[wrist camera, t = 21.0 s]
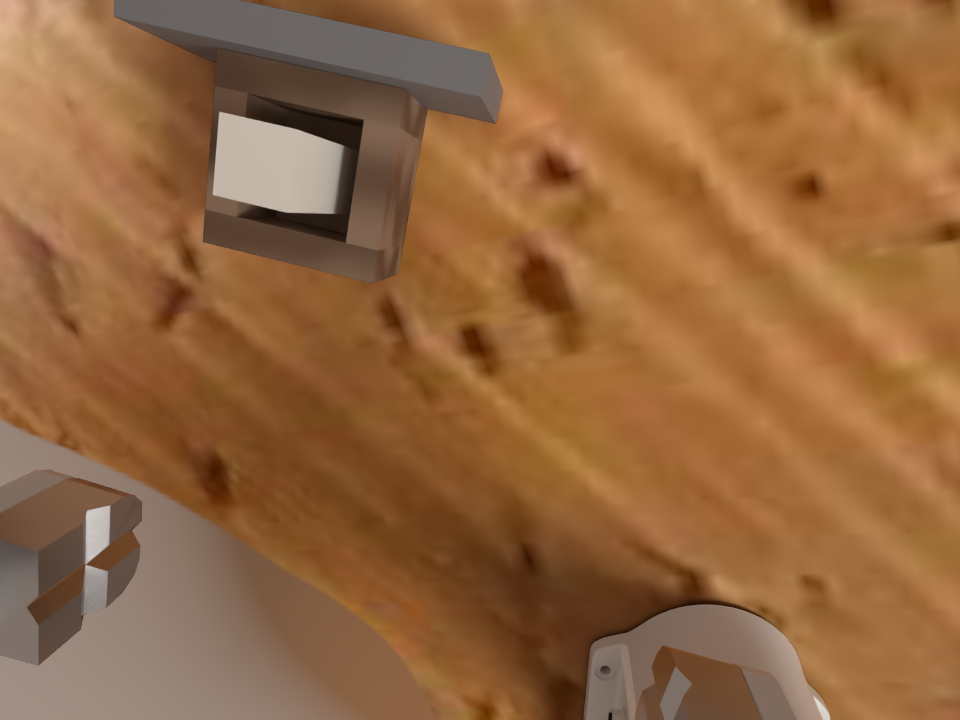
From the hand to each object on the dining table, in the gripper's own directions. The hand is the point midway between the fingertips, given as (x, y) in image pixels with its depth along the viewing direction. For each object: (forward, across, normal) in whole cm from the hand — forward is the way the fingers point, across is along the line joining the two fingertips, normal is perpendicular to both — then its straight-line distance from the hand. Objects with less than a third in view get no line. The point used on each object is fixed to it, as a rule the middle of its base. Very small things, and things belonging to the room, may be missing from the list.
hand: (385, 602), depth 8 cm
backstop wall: (+31, +14, -12) cm, 36 cm away
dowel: (+30, +14, -6) cm, 34 cm away
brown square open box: (+31, +14, -6) cm, 35 cm away
